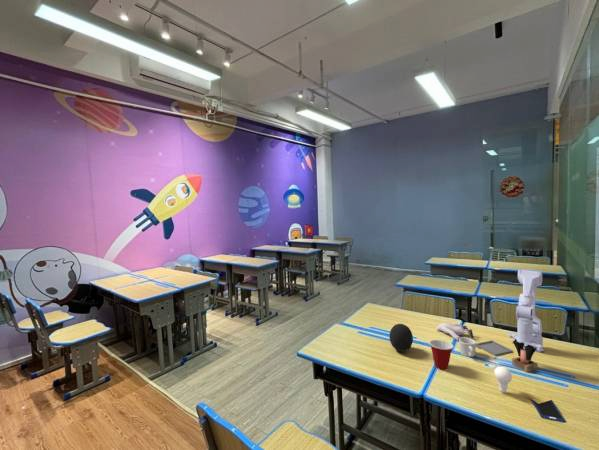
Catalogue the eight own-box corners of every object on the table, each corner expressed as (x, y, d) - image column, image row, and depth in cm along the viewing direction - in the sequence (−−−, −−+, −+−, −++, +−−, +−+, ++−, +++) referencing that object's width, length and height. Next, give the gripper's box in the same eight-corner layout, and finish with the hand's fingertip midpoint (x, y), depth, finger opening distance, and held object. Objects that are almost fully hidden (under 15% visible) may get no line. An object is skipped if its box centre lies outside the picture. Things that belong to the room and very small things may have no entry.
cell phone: (541, 419, 105) (541, 417, 105) (528, 395, 117) (528, 393, 117) (566, 424, 102) (566, 422, 102) (550, 399, 114) (550, 397, 114)
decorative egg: (399, 342, 165) (398, 318, 164) (417, 351, 155) (417, 325, 154) (385, 349, 159) (384, 323, 158) (403, 358, 148) (403, 331, 147)
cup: (481, 362, 142) (481, 347, 141) (464, 361, 143) (463, 346, 143) (472, 351, 152) (472, 337, 152) (456, 350, 154) (456, 336, 153)
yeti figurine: (477, 336, 173) (443, 326, 188) (478, 326, 173) (443, 317, 188) (467, 345, 160) (431, 334, 174) (467, 333, 160) (431, 323, 174)
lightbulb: (512, 399, 115) (512, 373, 114) (494, 394, 118) (494, 369, 118) (510, 390, 120) (511, 365, 120) (493, 386, 124) (493, 362, 123)
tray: (491, 342, 161) (491, 340, 161) (512, 353, 149) (512, 350, 149) (475, 346, 158) (475, 343, 158) (495, 357, 146) (495, 354, 146)
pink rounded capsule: (523, 362, 138) (523, 348, 137) (530, 366, 134) (530, 351, 134) (518, 364, 137) (518, 349, 136) (525, 367, 134) (525, 352, 133)
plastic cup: (453, 363, 142) (453, 340, 141) (453, 375, 133) (453, 350, 132) (430, 358, 147) (429, 336, 146) (428, 369, 138) (428, 346, 137)
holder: (522, 363, 140) (522, 356, 140) (537, 370, 133) (537, 363, 133) (511, 365, 138) (511, 358, 138) (526, 373, 131) (526, 366, 131)
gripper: (503, 325, 140) (503, 351, 141) (534, 338, 126) (534, 367, 127) (514, 323, 142) (514, 349, 143) (546, 336, 128) (545, 364, 129)
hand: (524, 357), depth 135 cm, fingers closed on pink rounded capsule, 3 cm apart
